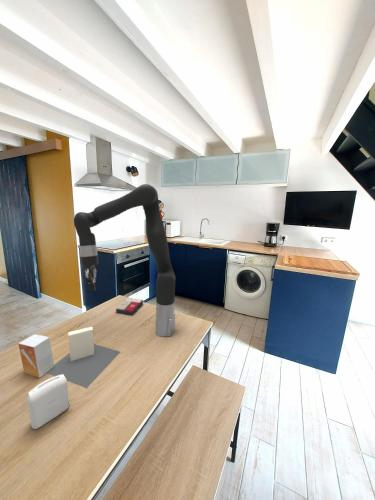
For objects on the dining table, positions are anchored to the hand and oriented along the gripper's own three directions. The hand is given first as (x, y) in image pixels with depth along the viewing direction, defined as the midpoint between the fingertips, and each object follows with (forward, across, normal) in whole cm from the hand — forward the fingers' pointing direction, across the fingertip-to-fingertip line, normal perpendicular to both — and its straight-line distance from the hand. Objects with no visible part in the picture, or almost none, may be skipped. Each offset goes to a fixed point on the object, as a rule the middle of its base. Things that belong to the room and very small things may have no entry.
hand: (92, 290), depth 100 cm
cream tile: (+25, -13, +3) cm, 28 cm away
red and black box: (+21, +28, -13) cm, 38 cm away
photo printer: (+29, -37, +5) cm, 48 cm away
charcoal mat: (+26, -16, +1) cm, 31 cm away
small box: (+25, -19, +17) cm, 35 cm away
